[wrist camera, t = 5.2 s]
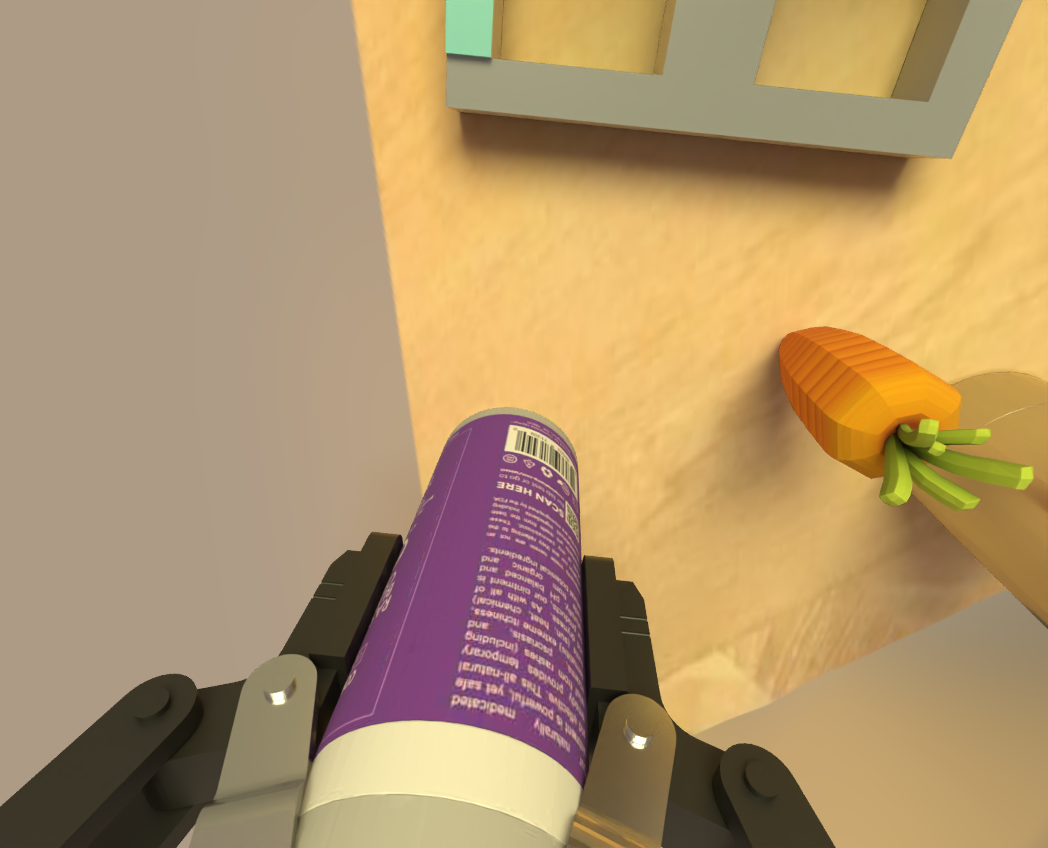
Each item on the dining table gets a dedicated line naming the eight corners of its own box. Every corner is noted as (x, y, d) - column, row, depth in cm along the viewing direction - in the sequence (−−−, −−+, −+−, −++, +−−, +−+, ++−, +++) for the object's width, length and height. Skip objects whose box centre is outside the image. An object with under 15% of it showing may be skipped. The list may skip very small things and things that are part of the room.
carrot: (733, 373, 30) (863, 546, 17) (760, 291, 28) (937, 418, 15) (816, 383, 30) (1011, 564, 17) (850, 301, 28) (1109, 438, 14)
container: (423, 420, 17) (-128, 1455, 3) (562, 393, 16) (537, 1634, 3) (465, 529, 19) (224, 1429, 6) (590, 510, 18) (655, 1523, 5)
